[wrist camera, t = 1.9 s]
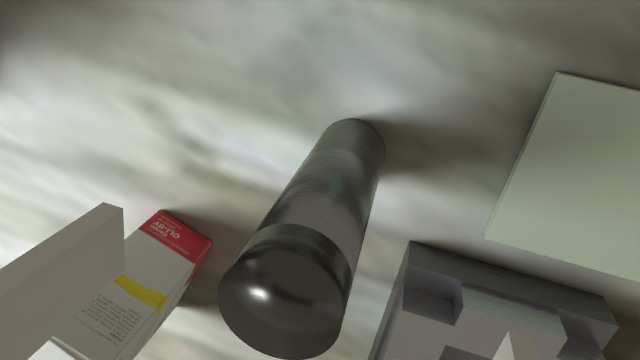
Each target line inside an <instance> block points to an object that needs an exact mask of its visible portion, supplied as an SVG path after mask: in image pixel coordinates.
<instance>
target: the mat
mask: <svg viewBox="0 0 640 360" xmlns="http://www.w3.org/2000/svg"><path fill="white" fill-rule="evenodd" d="M483 235H484V239H488V240H491V241H495V242H498V243H502V244H505V245H509V246H512V247H516V248H519V249H523V250H526V251H530V252H533V253H537V254H540V255H544V256H548V257H551V258H555V259H558V260H562V261H565V262H569V263H572V264H576V265H579V266H583V267H586V268H590V269H593V270H597V271H600V272H604V273H607V274H611V275H615V276H618V277H622V278H625V279H629V280H632V281H636V282H639V283H640V91H639V90H635V89H630V88H626V87H622V86H617V85H613V84H609V83H604V82H600V81H596V80H591V79H587V78H583V77H578V76H574V75H569V74H565V73H561V72H556V73H555V75H554V77H553V79H552V81H551V84H550V86H549V88H548V90H547V93H546V95H545V97H544V99H543V101H542V104H541V106H540V108H539V110H538V113H537V115H536V117H535V119H534V121H533V124H532V126H531V128H530V130H529V133H528V135H527V137H526V139H525V141H524V144H523V146H522V148H521V150H520V153H519V155H518V157H517V159H516V161H515V164H514V166H513V168H512V170H511V173H510V175H509V177H508V179H507V181H506V184H505V186H504V188H503V190H502V193H501V195H500V197H499V199H498V201H497V204H496V206H495V208H494V210H493V213H492V215H491V217H490V219H489V221H488V224H487V226H486V228H485V230H484V233H483Z"/></svg>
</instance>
